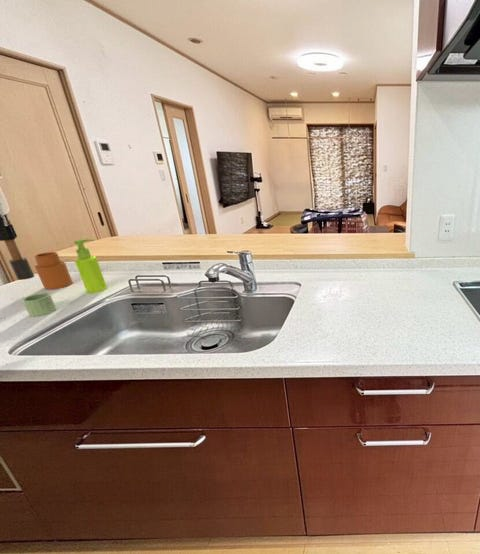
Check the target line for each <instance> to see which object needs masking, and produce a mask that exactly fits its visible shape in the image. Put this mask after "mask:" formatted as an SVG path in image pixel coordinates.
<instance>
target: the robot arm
mask: <svg viewBox="0 0 480 554" xmlns="http://www.w3.org/2000/svg"><path fill="white" fill-rule="evenodd" d="M1 179H3V176H2V174H1V173H0V180H1ZM3 191H4V190H3V189H2V187H1V186H0V242H4V241H5V240H16V238H17V237H18V235H17V233H16V230H15V228H14V225H13V224H12V222H11V220H10V218H9V214H8V213H9V212H10V211H11V209H10V205H9V203H8V200H7V198H6V196H5V193H4V192H3Z"/></svg>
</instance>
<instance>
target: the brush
mask: <svg viewBox="0 0 480 554" xmlns="http://www.w3.org/2000/svg"><path fill="white" fill-rule="evenodd" d="M3 242H4V244H5V246H6V248H7V250H8V252H9V255H10V257H11V259H10V260H8V262H9V264H10V267H11V269H12V271H13V273H14V275H15V278H16V279H17V280H18V281H23V280H30V279H33V278H34V277H35V274H34V272H33V270H32V268H31V266H30V265H31V264H30V263H29V261H28V258H27V257H23V256H22V254H21V252H20V249H19V247H18V245H17V242H16V239H14V240H5V241H3Z"/></svg>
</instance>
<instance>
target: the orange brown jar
mask: <svg viewBox="0 0 480 554" xmlns="http://www.w3.org/2000/svg"><path fill="white" fill-rule="evenodd" d="M34 259H35V262H36V263H37V264H36V265H35V266H34V268H35V270H36V272H37V275H38V277H39V279H40V282H41V284H42V286H43V288H44V289H45V290H49V291H51V290H57V289H58V290H59V289H62V288H63V289H64V288H66V287H69V286H71V285H72V284H73V283H74V282H73V279H72V277H71V274H70V272H69V269H68V267H67V264H66V261H64V260H61V259H60V257H59V254H58V252H57V251H49V252H48V251H47V252H41V253H38V254H35V255H34Z"/></svg>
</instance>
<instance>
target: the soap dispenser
mask: <svg viewBox="0 0 480 554" xmlns="http://www.w3.org/2000/svg"><path fill="white" fill-rule="evenodd" d="M94 241H95V239H94V238H82V239H77V240H73V244H76V246H77V249H75V253H76V255H77V258H75V259H74V262H75V265H76V268H77V270H78V272H79V275H80V278H81V281H82V284H83V286H84V288H85V290H86V291H85V292H86V293H88V294H96V293H100V292H103V291H106V290H107V289H108V286H107V284H106V281H105V278H104V275H103V273H102V270H101V267H100V264H99V261H98V258H97V256H95V255H91V252H90V249H89V248H88V247H85V244H84V243H85V242H94Z"/></svg>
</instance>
